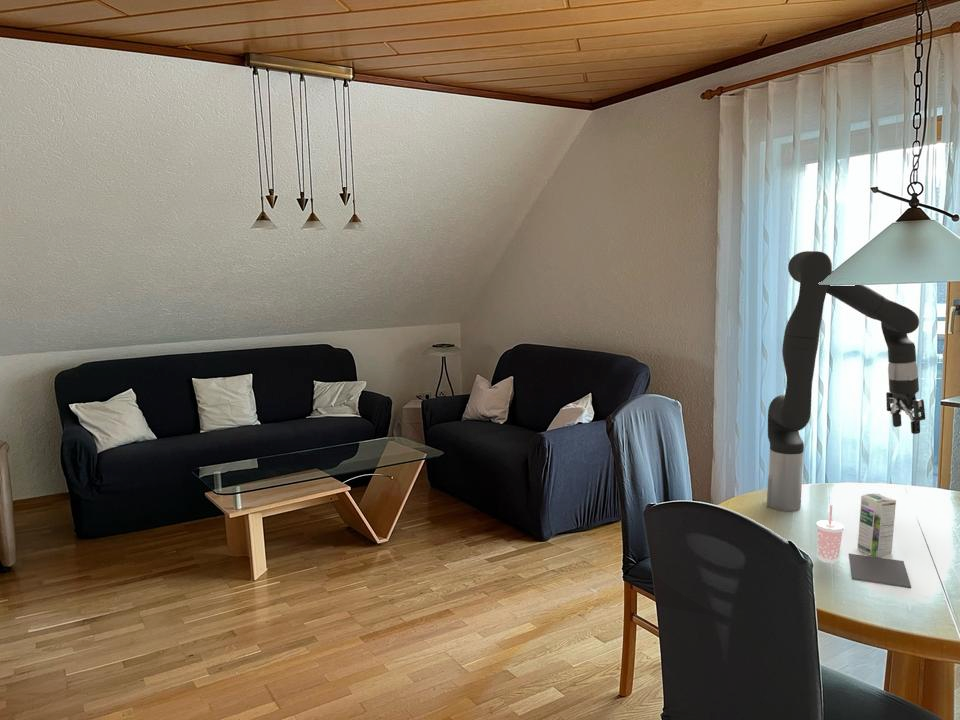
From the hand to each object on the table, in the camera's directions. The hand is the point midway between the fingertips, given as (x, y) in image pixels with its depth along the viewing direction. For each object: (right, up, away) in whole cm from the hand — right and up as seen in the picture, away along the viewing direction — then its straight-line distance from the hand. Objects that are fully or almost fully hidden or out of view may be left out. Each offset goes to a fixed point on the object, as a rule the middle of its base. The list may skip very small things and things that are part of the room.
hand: (906, 429), depth 217 cm
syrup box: (-26, -28, -31) cm, 49 cm away
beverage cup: (-39, -29, -35) cm, 60 cm away
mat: (-31, -30, -41) cm, 59 cm away
